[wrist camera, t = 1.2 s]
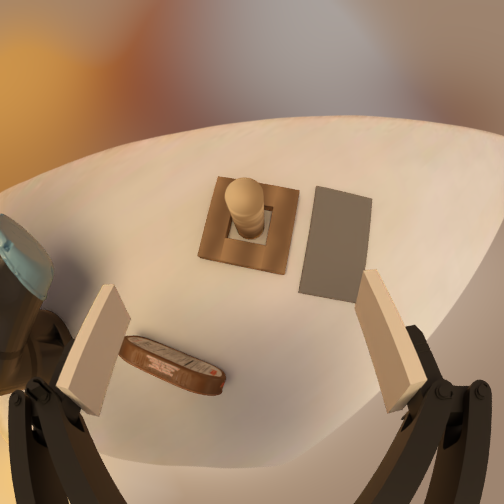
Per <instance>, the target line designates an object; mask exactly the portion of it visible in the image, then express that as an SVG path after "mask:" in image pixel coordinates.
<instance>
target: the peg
mask: <svg viewBox="0 0 504 504" xmlns="http://www.w3.org/2000/svg"><path fill="white" fill-rule="evenodd" d="M225 201H226V203H227V206H228V208H229V211H230V214H231V216H232V219H233V221H234V224H235V226H236V229H237V231H238V233H239V235H240V236H242V237H243V238H245V239H255V238H257V237H259V236H260V235H261V234H262V232H263V230H264V195H263V189H262V187H261V185H260V184H259V183H258V182H257V181H255V180H253V179H251V178H239V179H236V180H234V181H233V182H231V183H230V184H229V185H228V187H227V189H226V191H225Z"/></svg>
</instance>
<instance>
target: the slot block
mask: <svg viewBox="0 0 504 504" xmlns="http://www.w3.org/2000/svg"><path fill="white" fill-rule="evenodd" d="M234 180H236V179H232V178H226V177H219V176H218V178H217V182H216V185H215V189H214V193H213V196H212V200H211V204H210V208H209V212H208V215H207V219H206V223H205V227H204V231H203V235H202V239H201V243H200V247H199V252H198V256H199V257H200V258H203V259H207V260H212V261H217V262H222V263H227V264H231V265H236V266H241V267H246V268H251V269H256V270H261V271H266V272H271V273H276V274H281V275H284V274H285V269H286V264H287V258H288V253H289V248H290V242H291V237H292V232H293V226H294V220H295V215H296V209H297V203H298V197H299V191H300V190H295V189H289V188H284V187H279V186H274V185H268V184H262V183H259V184H260V185H261V187H262V189H263V195H264V210H269V211H273V212H272V217H271V222H270V227H269V232H268V236H267V241H266V246H265V245H260V244H255V243H250V242H245V241H240V240H235V239H229V238H228V235H229V231H230V226H231V222H232V216H231V214H230V211H229V208H228V206H227V203H226V201H225V191H226V189H227V187H228V185H229V184H230V183H231V182H233V181H234Z"/></svg>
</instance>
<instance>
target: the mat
mask: <svg viewBox="0 0 504 504" xmlns="http://www.w3.org/2000/svg"><path fill="white" fill-rule="evenodd" d="M371 208H372V199H371V198H367V197H363V196H359V195H355V194H351V193H346V192H342V191H338V190H333V189H329V188H325V187H320V186H316V192H315V199H314V205H313V212H312V218H311V225H310V231H309V237H308V243H307V249H306V254H305V260H304V266H303V271H302V276H301V282H300V287H299V292H298V293H303V294H309V295H314V296H320V297H325V298H330V299H336V300H342V301H347V302H353V303H356V300H357V296H358V292H359V287H360V283H361V278H362V274H363V271H364V270H365V265H366V258H367V250H368V241H369V231H370V221H371Z"/></svg>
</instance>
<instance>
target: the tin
mask: <svg viewBox="0 0 504 504" xmlns="http://www.w3.org/2000/svg"><path fill="white" fill-rule="evenodd" d="M118 355H119V356H120V357H121V358H122V359H123V360H124V361H126V362H127V363H129V364H131V365H133V366H135V367H137V368H139V369H141V370H143V371H145V372H147V373H149V374H151V375H153V376H155V377H157V378H160V379H162V380H164V381H166V382H168V383H171V384H173V385H175V386H178V387H180V388H182V389H185V390H187V391H190V392H193V393H197V394H202V395H208V396H216V395H220V394H221V393H222V388H223V386H224V383H225V380H226V376H225V373H224V372H223V371H222V370H220V369H219V368H217V367H215V366H213V365H211V364H209V363H207V362H204V361H202V360H199V359H197V358H194V357H192V356H189V355H187V354H185V353H182V352H180V351H177V350H175V349H173V348H170V347H168V346H165V345H163V344H161V343H158V342H156V341H153V340H150V339H147V338H144V337H140V336H124V339H123V342H122V345H121V348H120V351H119V353H118Z"/></svg>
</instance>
